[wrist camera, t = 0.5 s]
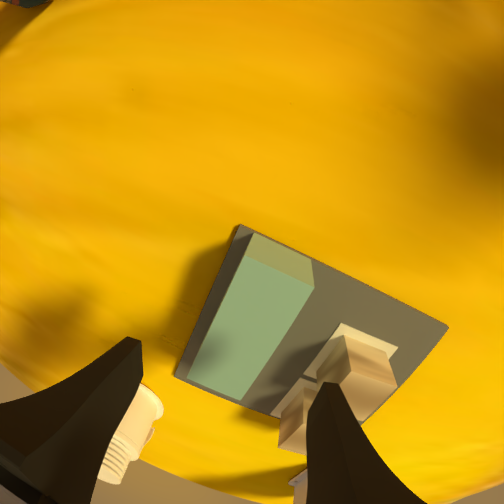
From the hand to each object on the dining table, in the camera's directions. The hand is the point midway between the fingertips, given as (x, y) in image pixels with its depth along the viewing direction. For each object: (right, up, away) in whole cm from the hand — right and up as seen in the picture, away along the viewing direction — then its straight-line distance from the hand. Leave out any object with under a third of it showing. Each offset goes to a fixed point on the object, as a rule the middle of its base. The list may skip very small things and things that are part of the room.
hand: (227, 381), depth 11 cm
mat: (+5, -3, +12) cm, 13 cm away
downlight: (-11, -10, +17) cm, 23 cm away
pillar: (+9, -4, +11) cm, 14 cm away
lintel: (+1, +1, +10) cm, 10 cm away
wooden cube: (+6, -9, +13) cm, 17 cm away
